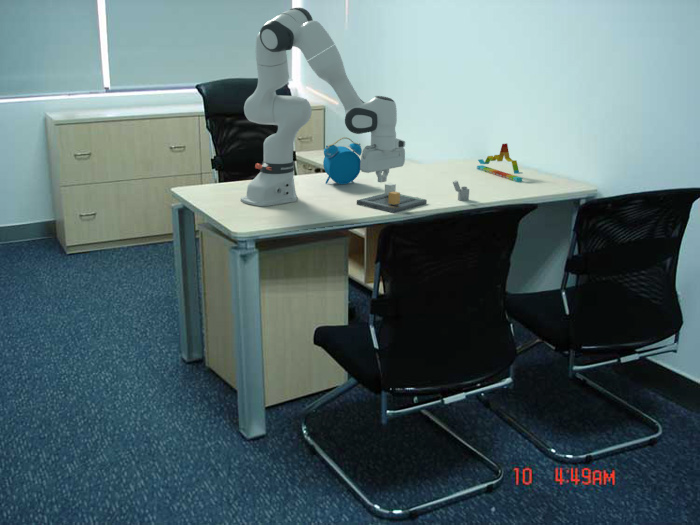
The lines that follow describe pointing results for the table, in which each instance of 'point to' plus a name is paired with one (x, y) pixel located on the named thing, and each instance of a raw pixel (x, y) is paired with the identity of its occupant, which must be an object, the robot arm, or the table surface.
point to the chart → (503, 153)
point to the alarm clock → (342, 162)
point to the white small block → (389, 188)
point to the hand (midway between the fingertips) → (382, 181)
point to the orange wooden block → (394, 198)
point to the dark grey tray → (382, 204)
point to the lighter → (461, 191)
